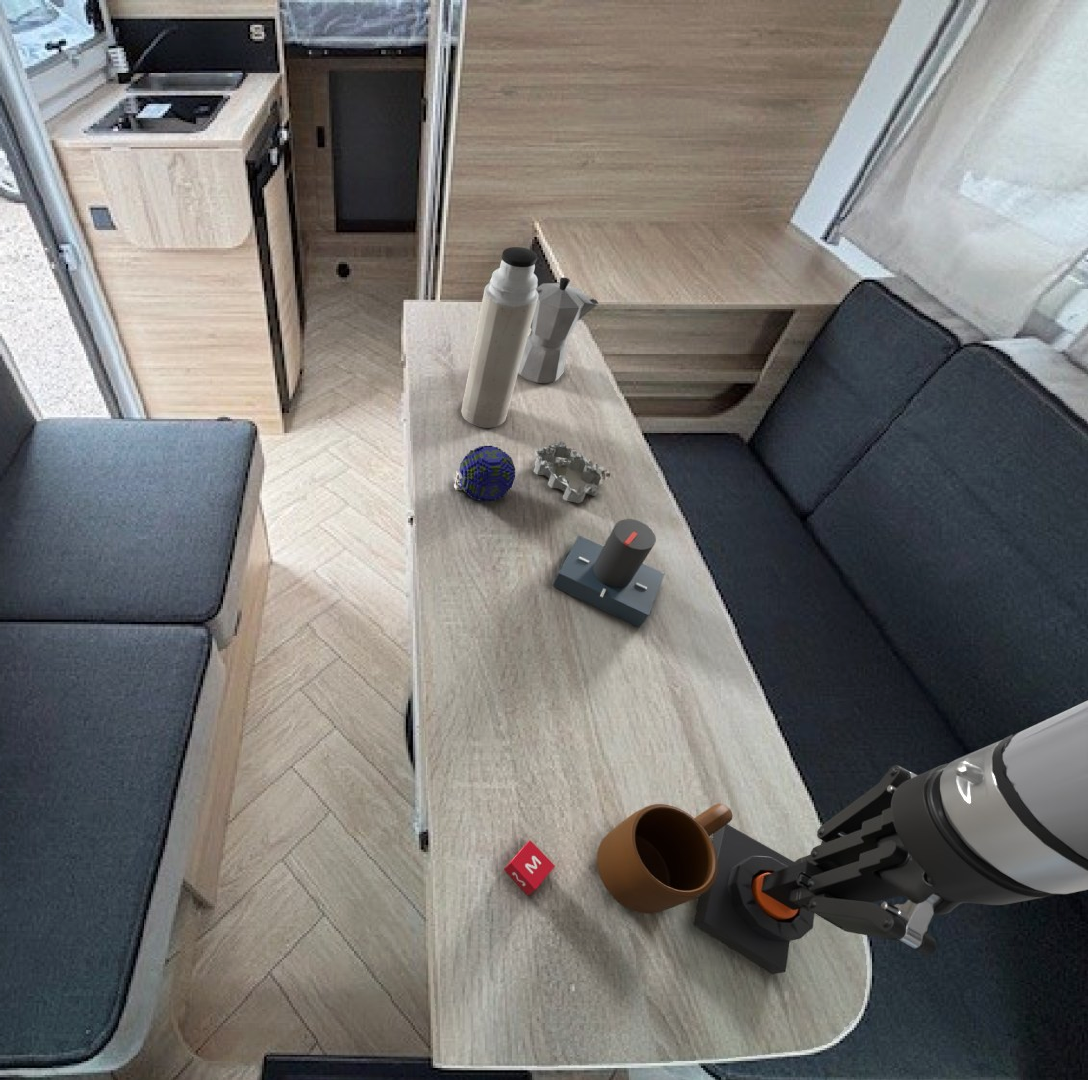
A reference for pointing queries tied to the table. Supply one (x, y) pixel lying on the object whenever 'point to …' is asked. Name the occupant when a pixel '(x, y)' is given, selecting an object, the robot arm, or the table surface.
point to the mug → (661, 857)
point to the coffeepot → (552, 330)
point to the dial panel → (619, 602)
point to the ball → (485, 473)
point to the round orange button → (769, 901)
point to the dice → (529, 868)
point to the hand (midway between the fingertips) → (778, 892)
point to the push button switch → (747, 903)
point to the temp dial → (624, 553)
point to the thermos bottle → (501, 338)
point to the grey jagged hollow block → (569, 472)
